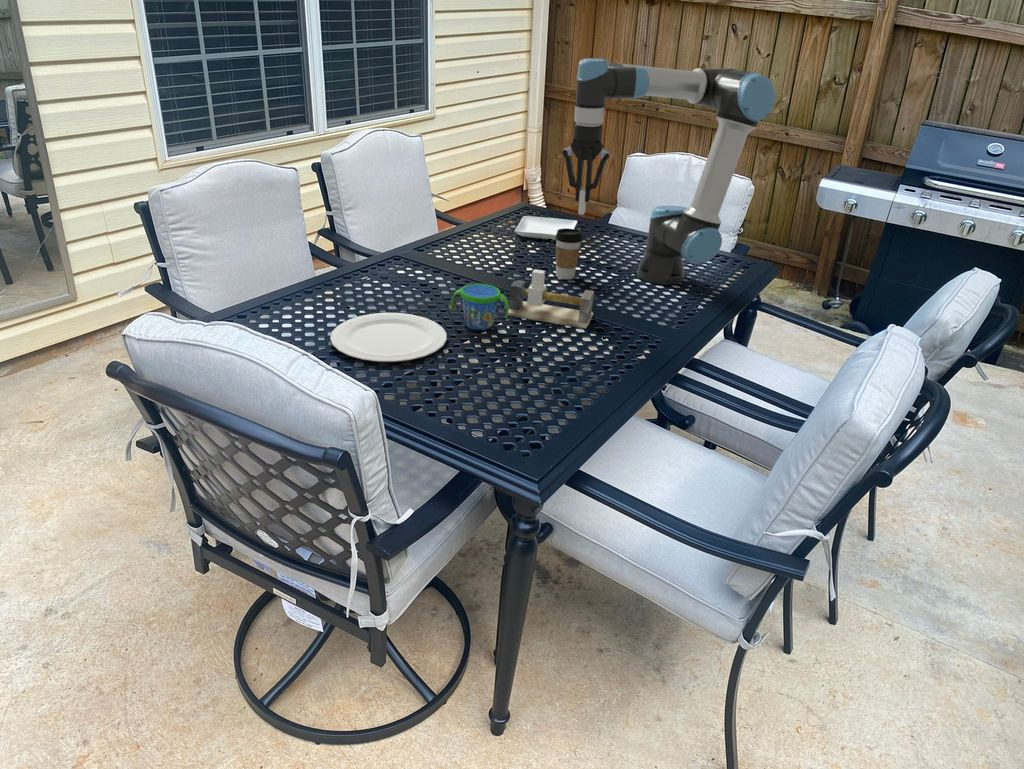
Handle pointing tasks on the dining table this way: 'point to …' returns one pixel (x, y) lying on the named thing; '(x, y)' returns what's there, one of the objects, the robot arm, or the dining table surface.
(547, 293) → the lead screw slide rig
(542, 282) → the sleeve
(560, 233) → the coffee cup
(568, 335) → the dining table surface
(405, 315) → the plate
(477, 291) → the snack cup
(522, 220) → the salad plate
